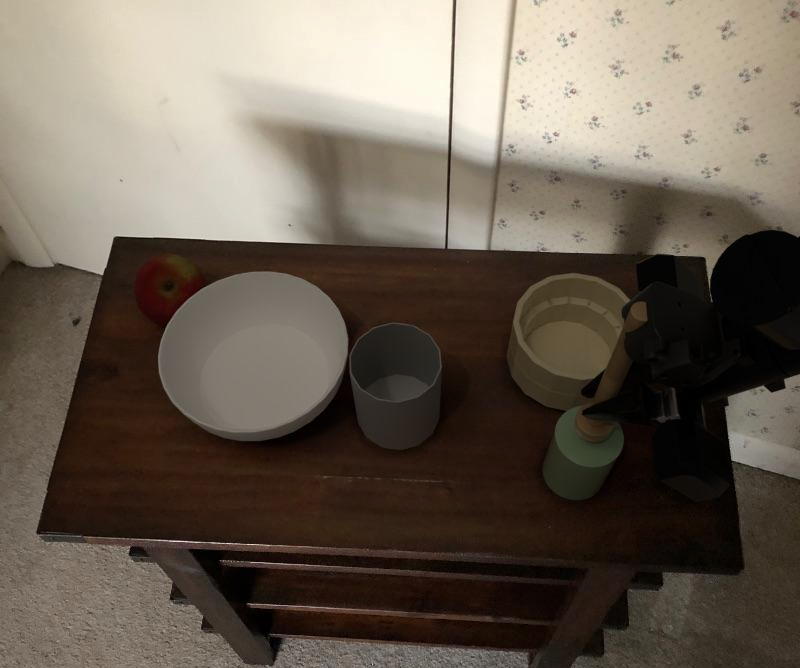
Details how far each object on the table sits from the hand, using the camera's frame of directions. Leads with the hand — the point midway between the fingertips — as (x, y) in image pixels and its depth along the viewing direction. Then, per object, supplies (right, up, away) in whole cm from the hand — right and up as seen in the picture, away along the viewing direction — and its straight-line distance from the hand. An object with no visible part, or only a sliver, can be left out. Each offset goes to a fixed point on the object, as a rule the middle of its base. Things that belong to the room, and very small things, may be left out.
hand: (584, 404), depth 63 cm
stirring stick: (+1, -2, +3) cm, 4 cm away
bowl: (-29, +2, +17) cm, 34 cm away
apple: (-39, +10, +22) cm, 46 cm away
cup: (-15, -1, +15) cm, 22 cm away
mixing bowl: (+2, +4, +17) cm, 18 cm away
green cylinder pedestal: (+2, -7, +11) cm, 13 cm away
